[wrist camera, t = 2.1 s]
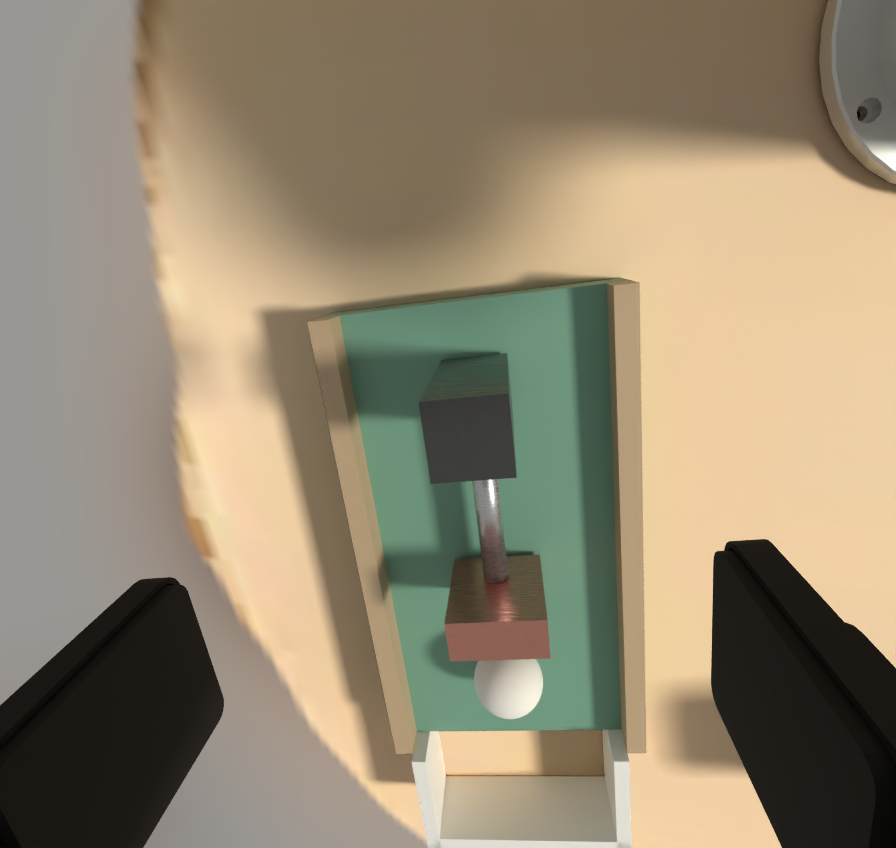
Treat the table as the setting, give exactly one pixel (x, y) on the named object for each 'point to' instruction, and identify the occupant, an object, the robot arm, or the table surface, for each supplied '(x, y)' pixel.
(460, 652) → the kicker rod
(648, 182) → the table surface
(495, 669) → the ball
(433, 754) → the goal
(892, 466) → the table surface
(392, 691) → the pitch board
